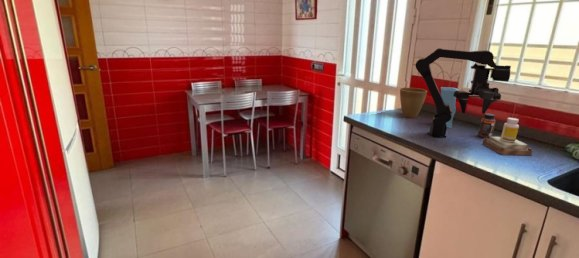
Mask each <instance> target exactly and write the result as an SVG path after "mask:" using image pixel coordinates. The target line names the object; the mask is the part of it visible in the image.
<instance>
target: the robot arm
mask: <svg viewBox="0 0 579 258" xmlns="http://www.w3.org/2000/svg"><path fill="white" fill-rule="evenodd" d="M439 58H445V59H455V60H464V61H470V62H473V63H474V64H473V65H471V66H470V69H472V70H474V73H473V74H474V75H473V78H472V80H470V84H471V87H470V89H468V91H466V90H459V89H458V90H456V91H455V92H454V97H456V99H457V100H458V102H459V106H460V109H461V113H462V114H465V112H466V109H467V104H468V101H469V98H480V99H482V108H481V114H483V115H485V114H486V113H487V110H488V109H489V107H490V106H491V105H492V104H493V103H495V102H498V101H499V100H500V101H501V98H502V95H501V92H499V88H498V87H490V82H489V78H490V79H492V81H493V82H494V81H495V82H505V83H508V82H509V81H510V77H511V67H512V65H499V64H497V63H496V62H495V61H494V54H493V52H491V51H489V50H472V51H471V50H470V51H467V50H457V49H444V48H440V47H439V48H437V49H435V50H434V51H433V52H432V53H430V54H429V55H428V56H426V57H421V58H419V59H418V60H417V61H416V62H415V69H416V70H417V72H418V73H419V75H420V76H421V77H422V78H423V80H424V82H425V84H426V87H427V89H428V92H429V94H430V96H431V97H432V100H433V102H434V104H435V110H436V114H435V115H433V116H432V121H431V122H430V126H429V131H427V134H429V135H430V136H431V137H432V138H446V137H447V136H446V134H447V129H448V127H446V125H447V124H445V123H446V122H448V121H450V120H451V118H452V109H451V108H450V105H449V103H448V104H445V102H444V101H443V99H442V97H441V91H440V90H439V88H438V86H437V83H436V80H435V78H434V76H433V73H432V72H433V71H432V69H431V68H432V67H431V64H433V63H435V62H436V61H437V60H438V59H439ZM479 64H480V65H479ZM486 65H487V66H488V67H486Z"/></svg>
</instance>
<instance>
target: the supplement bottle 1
mask: <svg viewBox="0 0 579 258" xmlns="http://www.w3.org/2000/svg"><path fill="white" fill-rule="evenodd" d="M495 116H496V115H495V114H493V113H487V112H485V113H484V117H482V118H481V120H480V123H479V128H478V133H477V135H478V137H480V138H484V139H485V138H488V139H489V137H493V134H494V130H495V125H496V119H495Z"/></svg>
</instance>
